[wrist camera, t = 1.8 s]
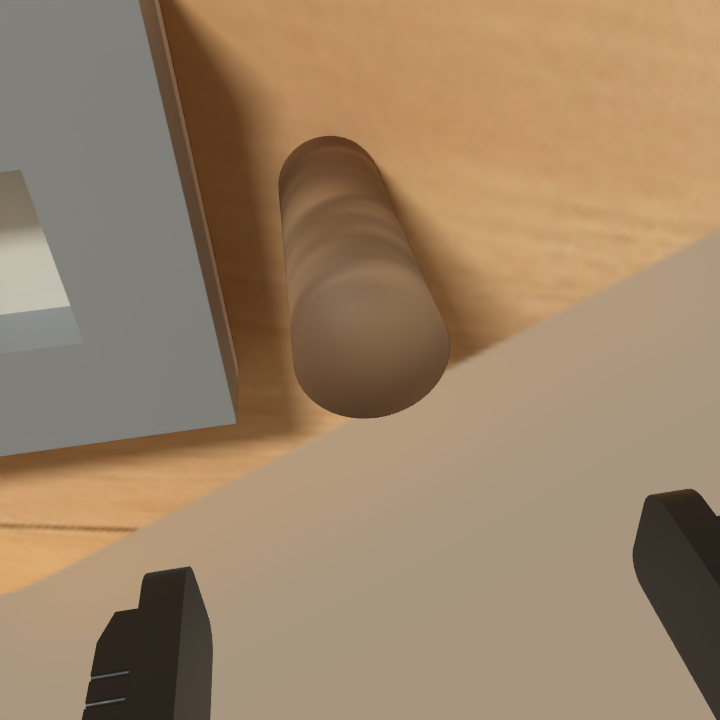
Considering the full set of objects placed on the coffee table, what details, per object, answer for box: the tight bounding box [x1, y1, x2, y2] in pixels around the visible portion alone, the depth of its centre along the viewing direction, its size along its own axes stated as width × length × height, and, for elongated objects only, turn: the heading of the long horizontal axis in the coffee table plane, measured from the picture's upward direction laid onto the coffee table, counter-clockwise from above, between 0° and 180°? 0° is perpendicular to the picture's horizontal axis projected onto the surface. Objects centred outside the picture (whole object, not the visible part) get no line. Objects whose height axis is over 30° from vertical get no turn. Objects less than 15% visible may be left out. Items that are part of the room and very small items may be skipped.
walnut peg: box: [278, 136, 450, 418], centre depth 22 cm, size 4×4×12 cm
